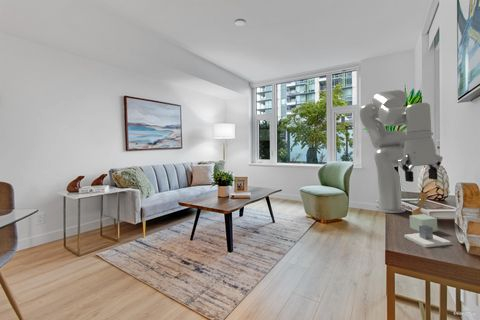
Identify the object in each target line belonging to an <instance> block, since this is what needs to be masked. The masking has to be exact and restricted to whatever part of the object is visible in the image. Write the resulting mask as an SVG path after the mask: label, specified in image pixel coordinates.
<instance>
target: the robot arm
mask: <svg viewBox="0 0 480 320" xmlns="http://www.w3.org/2000/svg"><path fill="white" fill-rule="evenodd" d="M406 103H407V94H406V93H405V91H403V90H400V89H398V90H397V89H396V90H395V89H394V90H386V91H381V92H378V93H375V94H374V96H373V97H372V101H371V103H367V104H364V105H363V106H361V107H360V109H359V118H360V121H361V124H362V126H364V128H365V129H366V132H367V133H368V135H369V136H368V137H370V141H371V143H372V145H373V148H374V149H375V150H376V151H375V152H374V162H375V166H376V173H377V185H378V187H377V188H378V199H377V200H376V203H378V205H376V207H375V208H376V210H377V211H378V212H381V213H387V214H400V213H401V214H402V213H405V212H406V207H404V206H402V194H401V191H402V189H401V188H402V187H401V176H400V173H399V172H398V171H397V170H396V169H395V167H400V168H401V169H402V170H403V172H404V179H405V181H406V182H409V183H410V182H411V183H412V182H414V170H413V169H414V167H423V166H428V167H429V168H428V172H427V173H428V179H429V180H439V179H438V169H439V168H440V165H441V164H442V161H443V156H441V155H439V154H437V152H436V145H435V140H434V139H433V137H432V136H433V135H434V132H432V118H431V105H430V103H428V102H418V103H412V104H409V105H407V106H405V105H406ZM378 119H379V120H378ZM386 126H387V127H397V126H399V127H400V126H406V127H405V128H406V132H405V131H402V130H387V127H386ZM412 170H413V171H412Z"/></svg>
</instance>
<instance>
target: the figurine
mask: <svg viewBox="0 0 480 320" xmlns="http://www.w3.org/2000/svg"><path fill="white" fill-rule="evenodd" d="M419 194H420V197H419V198H418V199H416V201H417V203H416V205H417V206H418V208H416V209H414V210H412V211H411V215H419V214H424V213H423V211H422V206H424V205H425V203H426V202H427V198H428V197H429V196H428V193H426V192H422V191H420V192H419Z"/></svg>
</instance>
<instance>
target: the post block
mask: <svg viewBox="0 0 480 320" xmlns="http://www.w3.org/2000/svg"><path fill="white" fill-rule="evenodd" d="M404 237H405V238H404ZM403 238H404V239H406V238H407V240H408V241H410V242H412V243H415V244H417V245H419V246H421V247H424V248H432V247H441V246H448V245H449V246H450V245H451V244H452V242H451V240H448V239H446V238H442V237H440V236H438V235H436V234H434V233H433V228H432V227H430V226H427V225H422V226H419V231H418V232H417V233H408V234H404V235H403Z"/></svg>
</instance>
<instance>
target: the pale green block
mask: <svg viewBox="0 0 480 320" xmlns="http://www.w3.org/2000/svg"><path fill="white" fill-rule="evenodd" d="M422 225H427V226H430V227H432V228H433V232H438V218H437V217H434V216H430V215H429V214H428V215H427V214H425V213H423V214H419V215H412V214H411V215H409V228H410V229H412V230H414V231H417V232H419V226H422Z"/></svg>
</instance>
